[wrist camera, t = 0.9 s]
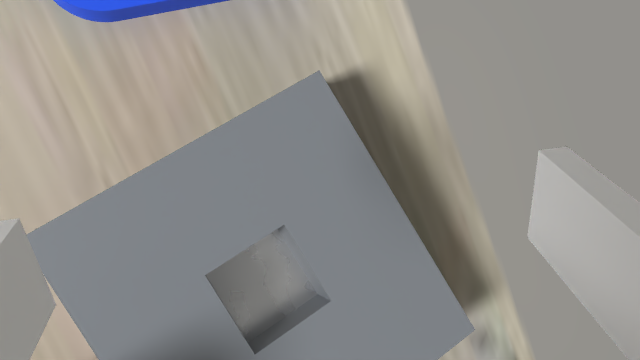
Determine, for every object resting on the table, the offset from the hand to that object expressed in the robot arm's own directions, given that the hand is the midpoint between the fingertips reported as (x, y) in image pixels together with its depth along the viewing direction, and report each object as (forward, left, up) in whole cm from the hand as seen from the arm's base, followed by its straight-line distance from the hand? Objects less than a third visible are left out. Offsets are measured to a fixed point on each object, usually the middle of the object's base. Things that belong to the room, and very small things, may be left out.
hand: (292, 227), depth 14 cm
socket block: (+4, 0, -24) cm, 24 cm away
